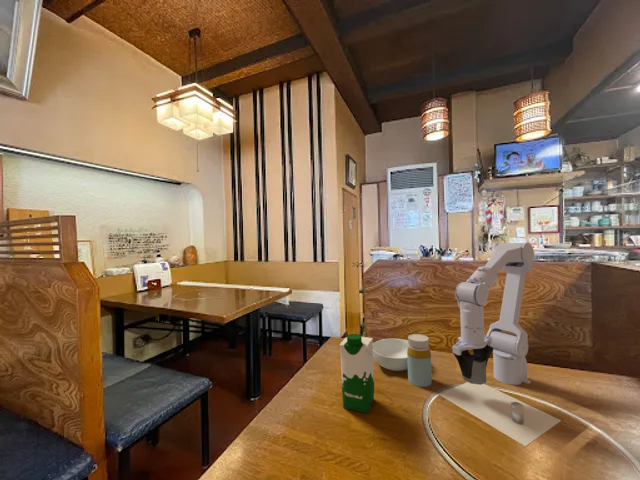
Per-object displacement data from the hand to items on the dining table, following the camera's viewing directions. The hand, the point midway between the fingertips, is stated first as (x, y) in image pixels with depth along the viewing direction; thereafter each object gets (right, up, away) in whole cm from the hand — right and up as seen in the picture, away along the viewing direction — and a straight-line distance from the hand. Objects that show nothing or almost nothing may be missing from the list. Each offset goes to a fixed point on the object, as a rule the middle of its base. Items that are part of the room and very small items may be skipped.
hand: (473, 373), depth 76 cm
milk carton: (-32, -9, +2) cm, 33 cm away
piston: (+5, -7, -10) cm, 13 cm away
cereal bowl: (-16, -9, +22) cm, 29 cm away
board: (+3, -8, -4) cm, 9 cm away
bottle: (-11, -9, +10) cm, 17 cm away
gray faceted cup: (0, -1, 0) cm, 1 cm away
